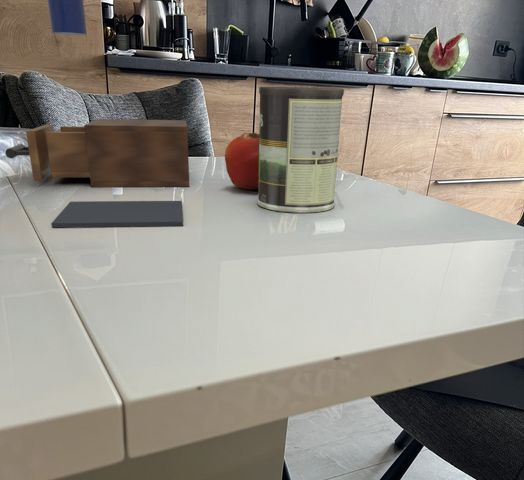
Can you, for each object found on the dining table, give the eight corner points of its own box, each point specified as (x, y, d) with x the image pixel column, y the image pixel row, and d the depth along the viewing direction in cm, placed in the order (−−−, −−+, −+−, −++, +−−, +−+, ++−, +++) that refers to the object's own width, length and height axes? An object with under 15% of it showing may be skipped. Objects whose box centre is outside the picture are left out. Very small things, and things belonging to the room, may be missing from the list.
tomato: (242, 182, 88) (242, 129, 85) (294, 188, 85) (296, 132, 81) (212, 191, 81) (211, 133, 77) (268, 197, 77) (270, 136, 74)
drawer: (3, 180, 80) (-6, 130, 77) (25, 167, 92) (18, 124, 89) (127, 180, 83) (122, 131, 80) (133, 167, 94) (129, 125, 91)
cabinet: (91, 187, 82) (84, 125, 78) (102, 172, 95) (96, 119, 91) (189, 186, 84) (187, 126, 80) (187, 172, 97) (185, 120, 93)
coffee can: (246, 209, 70) (246, 86, 63) (271, 195, 78) (274, 86, 72) (324, 216, 67) (333, 88, 60) (342, 201, 75) (351, 88, 69)
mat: (51, 227, 59) (51, 223, 58) (70, 205, 69) (70, 201, 69) (183, 225, 61) (183, 221, 60) (181, 204, 71) (181, 200, 71)
